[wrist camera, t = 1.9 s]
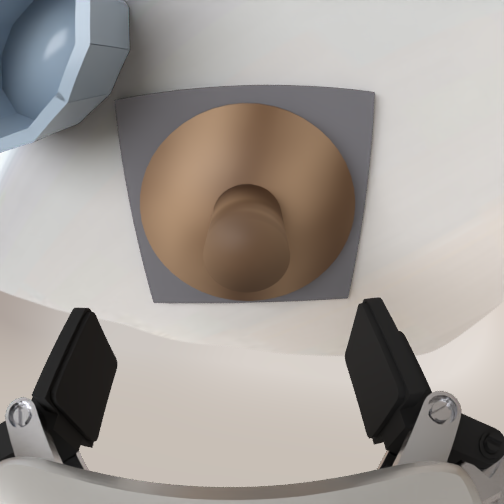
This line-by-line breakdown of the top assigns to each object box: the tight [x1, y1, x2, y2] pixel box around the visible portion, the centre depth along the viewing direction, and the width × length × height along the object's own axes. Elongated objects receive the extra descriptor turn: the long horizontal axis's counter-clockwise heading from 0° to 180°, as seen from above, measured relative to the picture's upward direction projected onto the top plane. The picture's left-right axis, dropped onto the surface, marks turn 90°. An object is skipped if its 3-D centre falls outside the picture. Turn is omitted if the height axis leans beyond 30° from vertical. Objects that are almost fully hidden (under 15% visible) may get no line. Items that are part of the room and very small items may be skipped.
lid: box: [140, 103, 355, 301], centre depth 16 cm, size 13×13×6 cm
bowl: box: [0, 0, 130, 153], centre depth 11 cm, size 11×11×5 cm
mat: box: [115, 85, 375, 303], centre depth 19 cm, size 15×15×1 cm
